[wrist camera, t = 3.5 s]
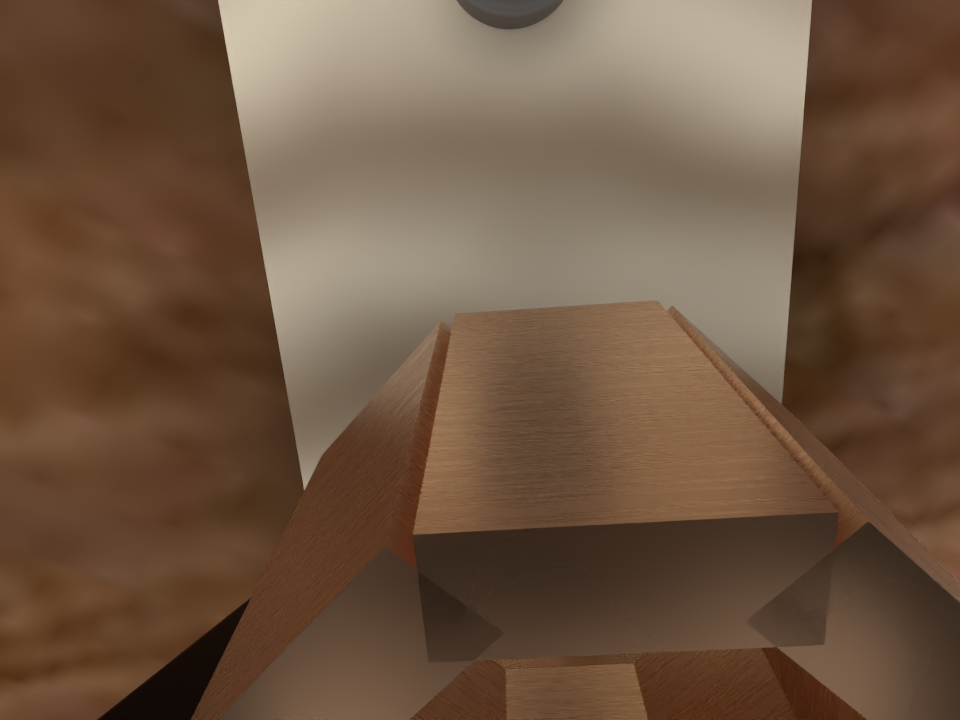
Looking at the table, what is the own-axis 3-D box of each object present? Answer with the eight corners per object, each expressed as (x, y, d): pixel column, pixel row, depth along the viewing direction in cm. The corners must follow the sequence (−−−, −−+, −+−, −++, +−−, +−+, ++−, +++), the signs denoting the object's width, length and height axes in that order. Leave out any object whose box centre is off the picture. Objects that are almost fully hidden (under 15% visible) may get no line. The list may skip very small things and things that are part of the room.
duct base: (756, 477, 22) (855, 615, 16) (322, 501, 23) (259, 643, 17) (807, -311, 16) (1006, -580, 10) (195, -251, 16) (19, -466, 10)
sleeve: (786, 707, 11) (1000, 1144, 6) (361, 725, 11) (268, 1155, 7) (826, 289, 9) (1199, 493, 4) (294, 324, 9) (83, 552, 4)
